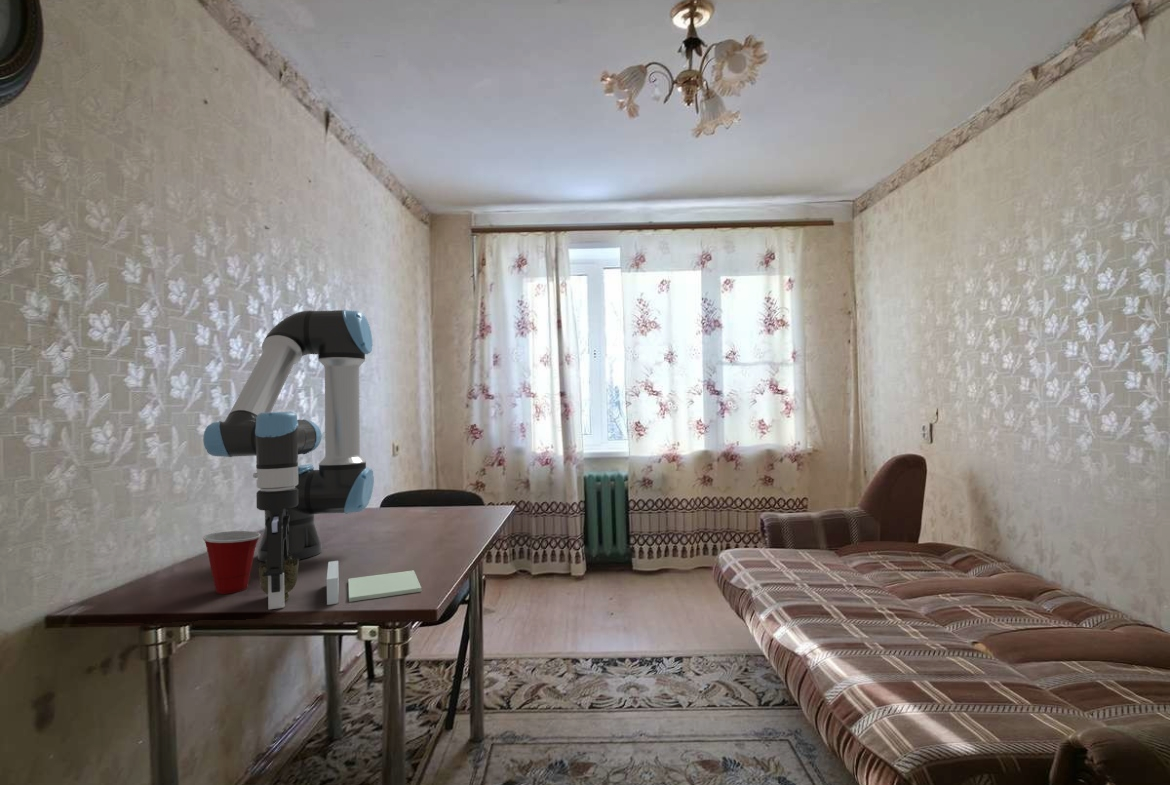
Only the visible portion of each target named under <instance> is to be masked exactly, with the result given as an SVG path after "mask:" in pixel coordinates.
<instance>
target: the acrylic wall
mask: <svg viewBox="0 0 1170 785" xmlns="http://www.w3.org/2000/svg"><path fill="white" fill-rule="evenodd" d="M326 572H327V574H326V605H327V606H329V605H337V604H339V590H340V589H339V588H340V587H339V578H340V576H339V560H332V561H328V563H327V571H326Z"/></svg>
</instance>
